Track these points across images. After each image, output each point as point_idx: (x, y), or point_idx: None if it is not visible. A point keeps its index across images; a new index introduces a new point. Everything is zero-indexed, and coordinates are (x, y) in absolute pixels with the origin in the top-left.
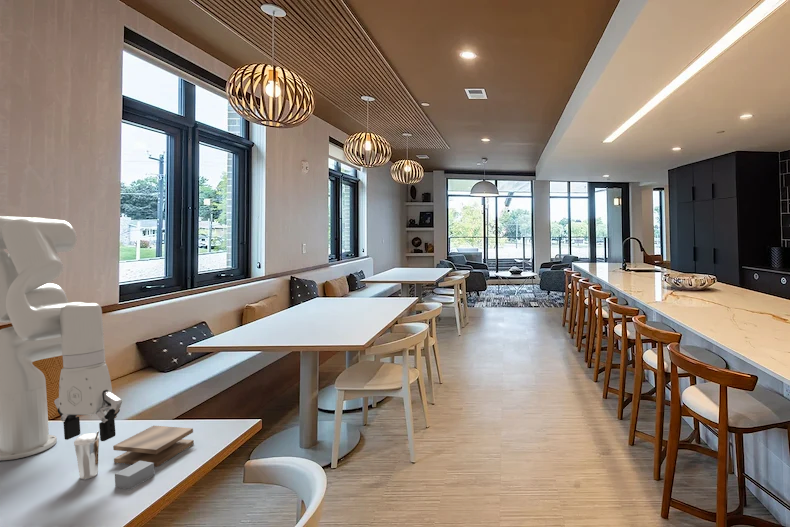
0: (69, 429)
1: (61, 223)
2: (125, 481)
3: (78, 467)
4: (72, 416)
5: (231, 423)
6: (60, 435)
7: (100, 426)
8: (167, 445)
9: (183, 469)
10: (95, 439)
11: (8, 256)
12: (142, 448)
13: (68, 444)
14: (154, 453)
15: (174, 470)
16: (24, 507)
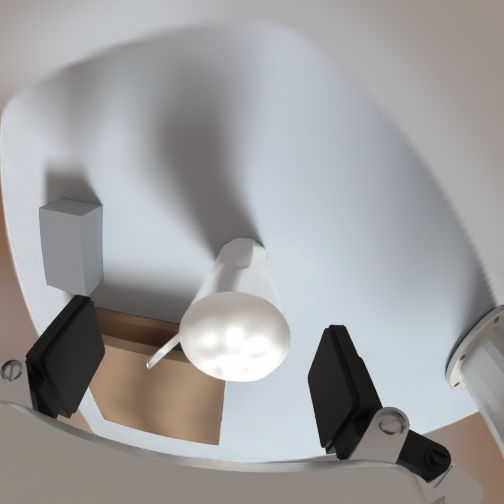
0: (334, 373)
1: None
2: (58, 205)
3: (266, 260)
4: (344, 449)
5: (129, 441)
6: (449, 395)
7: (42, 344)
8: None
9: (38, 293)
10: (177, 337)
11: None
12: (109, 345)
13: (422, 381)
14: None
15: (48, 289)
16: (290, 72)
